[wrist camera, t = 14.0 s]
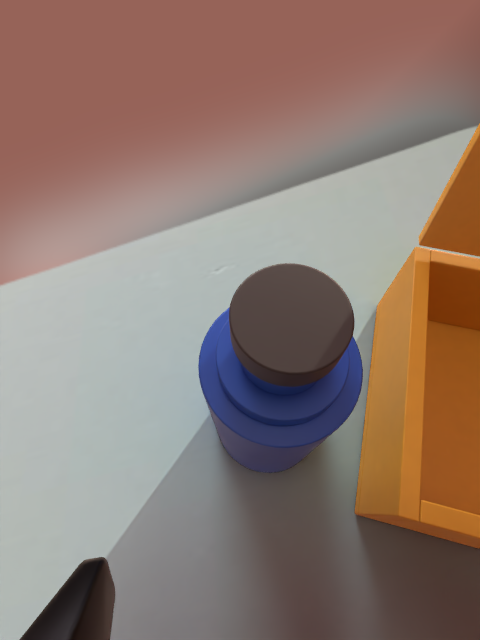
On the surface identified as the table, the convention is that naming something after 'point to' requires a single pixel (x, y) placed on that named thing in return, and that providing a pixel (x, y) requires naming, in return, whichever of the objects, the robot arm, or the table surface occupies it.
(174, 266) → the table surface
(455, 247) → the lunchbox lid
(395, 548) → the table surface
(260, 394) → the bottle
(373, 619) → the table surface
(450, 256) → the box
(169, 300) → the table surface
